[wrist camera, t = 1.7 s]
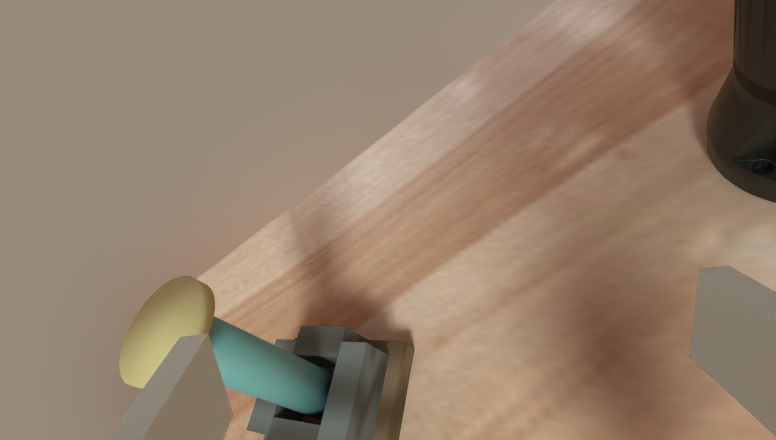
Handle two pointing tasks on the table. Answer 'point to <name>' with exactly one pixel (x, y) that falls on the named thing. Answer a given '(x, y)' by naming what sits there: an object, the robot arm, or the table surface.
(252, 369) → the disc-capped post
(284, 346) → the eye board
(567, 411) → the table surface
